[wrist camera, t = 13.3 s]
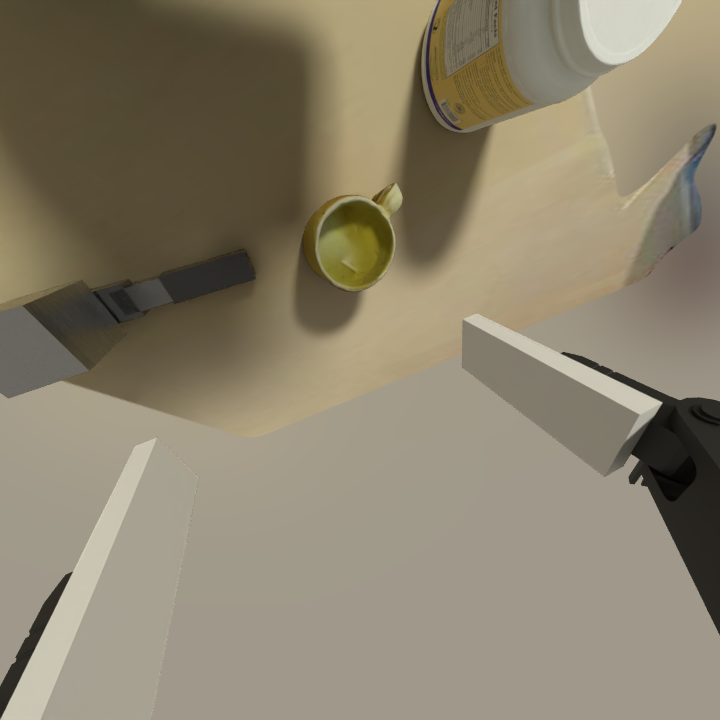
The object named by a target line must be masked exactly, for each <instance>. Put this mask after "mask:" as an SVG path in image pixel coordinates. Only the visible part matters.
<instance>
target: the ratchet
mask: <svg viewBox="0 0 720 720" xmlns="http://www.w3.org/2000/svg"><path fill="white" fill-rule="evenodd" d="M254 279H256V274H255V272H254V269H253V267H252V265H251V262H250V260H249V258H248V256H247V253H246V251H245V249H242V250H239V251H235V252H232V253H229V254H225V255H222V256H218V257H215V258H211V259H208V260H204V261H201V262H197V263H194V264H190V265H187V266H183V267H180V268H176V269H173V270H169V271H166V272H163V273H162V274H161V275H159V276H156V277H152V278H149V279H145V280H142V281H138V282H135V283H131V282H130V280H129V279H126V280H123V281H119V282H116V283H112V284H109V285H105V286H102V287H98V288H95V289H90V290H91V291H92V292H93V294H94V295H95V296H96V297H97V298H98V300H99V301H100V302H101V303H102V304H103V306H104V307H105V308H106V309H107V310H108V311H109V313H110V314H111V315H112V316H113V317H114V319H115V320H116V321H117V322H118V323H122V322H125V321H129V320H132V319H135V318H138V317H141V316H144V315H145V314H146V313H147V312H148V311H149V310H150V309H151V308H154V307H157V306H161V305H164V304H167V303H170V302H174V303H175V304H176V303H179V302H182V301H185V300H189V299H192V298H195V297H198V296H202V295H205V294H208V293H211V292H215V291H218V290H221V289H224V288H228V287H231V286H234V285H237V284H241V283H244V282H247V281H250V280H254Z"/></svg>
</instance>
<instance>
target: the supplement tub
mask: <svg viewBox="0 0 720 720" xmlns="http://www.w3.org/2000/svg"><path fill="white" fill-rule="evenodd" d="M681 2H682V0H437V1H436V3H435V5H434V7H433V10H432V12H431V14H430V17H429V20H428V23H427V27H426V31H425V35H424V40H423V48H422V59H421V71H422V82H423V88H424V93H425V97H426V100H427V103H428V105H429V108H430V110H431V112H432V114H433V115H434V117H435V118H436V120H437V121H438V122H439V123H440V124H441V125H442V126H444V127H445V128H447V129H449V130H451V131H454V132H459V133H468V132H473V131H476V130H478V129H481V128H484V127H487V126H490V125H493V124H496V123H499V122H502V121H505V120H508V119H511V118H514V117H517V116H519V115H522V114H525V113H528V112H531V111H534V110H537V109H540V108H543V107H546V106H549V105H552V104H556V103H560V102H562V101H565V100H567V99H569V98H571V97H573V96H575V95H576V94H578V93H580V92H581V91H583V90H584V89H586V88H587V87H588V86H589V85H591V84H592V83H593V82H594V81H595V80H596V79H597V78H598V77H599V76H601V75H603V74H605V73H608V72H609V71H611V70H613V69H615V68H616V67H617V66H619V65H622V64H624V63H626V62H629V61H630V60H632V59H634V58H635V57H637V56H638V55H640V54H641V53H642V52H643V51H644V50H645V49H646V48H648V47H649V45H651V44H652V43H653V41H654V40H655V39H656V38H657V37H658V36H659V35H660V33H661V32H662V31H663V30H664V28H665V27H666V26H667V24H668V23H669V21H670V20H671V18H672V17H673V15H674V14H675V12H676V11H677V9H678V7H679V5H680V3H681Z"/></svg>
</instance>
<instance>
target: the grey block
mask: <svg viewBox="0 0 720 720" xmlns="http://www.w3.org/2000/svg"><path fill="white" fill-rule="evenodd" d="M126 334H127V333H126V332H125V331H124V329H123V328H122V327H121V326H120V325H119V323H118V322H117V321H116V320H115V319H114V317H113V316H112V315H111V314H110V313H109V311H108V310H107V309H106V308H105V307H104V306H103V304H102V303H101V302H100V301H99V300H98V298H97V297H96V296H95V295H94V294H93V292H92V291H91V290H90V289H89V288H88V286H87V285H86V284H85V283H84V282H83V280H80V281H76V282H73V283H69V284H66V285H62V286H59V287H55V288H52V289H48V290H45V291H41V292H38V293H34V294H31V295H27V296H24V297H20V298H17V299H13V300H10V301H7V302H5V303H2V304H0V393H1V394H3V395H4V396H6V397H7V398H11V397H14V396H17V395H20V394H23V393H26V392H29V391H32V390H35V389H38V388H41V387H43V386H46V385H49V384H52V383H55V382H58V381H61V380H64V379H67V378H70V377H73V376H76V375H79V374H82V373H85V372H88V371H90V370H91V369H92V368H93V367H94V366H95V365H96V364H97V363H98V362H99V361H100V360H101V359H102V358H103V357H104V356H105V355H106V354H107V353H108V352H109V351H110V350H111V349H112V348H113V347H114V346H115V345H116V344H117V343H118V342H119V341H120V340H121V339H122V338H123V337H124V336H125V335H126Z"/></svg>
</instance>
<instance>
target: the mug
mask: <svg viewBox="0 0 720 720" xmlns="http://www.w3.org/2000/svg"><path fill="white" fill-rule="evenodd" d="M402 200H403V197H402V194H401V192H400V189H399V187H398V185H397V184H396V183H393V184H391V185H389V186H387V187H386V188H385V189H383V190H382V191H380V192H379V193H378V194H377V195H375V196H374V197H373V199H372V200H370V199H368V198H367V197H364V196H360V195H345V196H339V197H336V198H334V199H332V200H330V201H328V202H326V203H325V204H324V205H323V206H322V207H321V208H320V209H319V210H318V211H316V212H315V213H314V215H313V216H312V217H311V218H310V220H309V221H308V223H307V225H306V227H305V231H304V235H303V249H304V253H305V257H306V259H307V261H308V263H309V265H310V267H311V268H312V269H313V270H314V271H315V272H316V273H317V274H318V275H319V276H321V277H322V278H323V279H324V280H326V281H327V282H329V283H330V284H332V285H333V286H335V287H337V288H339V289H341V290H344V291H347V292H358V291H362V290H365V289H368V288H370V287H372V286H373V285H375V284H376V283H377V282H378V281H379V280H381V279H382V277H383V276H384V275H385V273H386V272H387V270H388V269H389V267H390V265H391V263H392V260H393V257H394V253H395V234H394V231H393V228H392V225H391V223H390V220H389V219H390V217H391V216H392V215H393V214H394V213H395V212H396V211H397V210H398V209H399V207H400V206H401V204H402Z"/></svg>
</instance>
